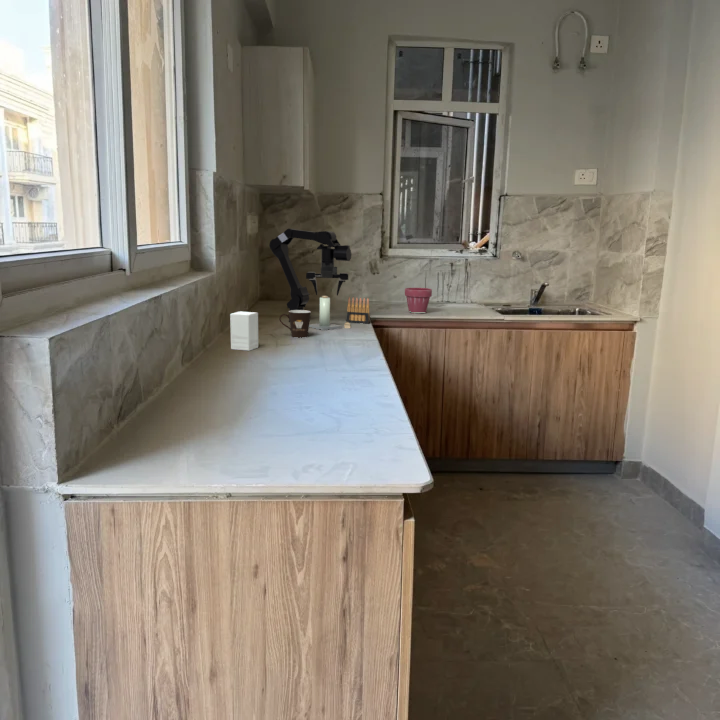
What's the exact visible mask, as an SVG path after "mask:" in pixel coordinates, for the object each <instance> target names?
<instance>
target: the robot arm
mask: <svg viewBox="0 0 720 720" xmlns="http://www.w3.org/2000/svg"><path fill="white" fill-rule="evenodd" d="M293 239H299V240H300V239H301V240H308V241H314V242H317V243H320V244H319V245H318V246H317V247H316V250H320V252H321V253H320V254H321V256H320V259H321V262H320V273H316V271H308V272H306V273H305V279H306V280H308V281H309V282H311V283H312V286H313V288H314V292H315V295H316V296H318V284H317V279H338V284H337V290H336V296H339V293H340V291H341V288H342V287H341V286H342V285H343V283H345V282H346V281H349V273H348V272H339V273H338V266H335V260H336V261H339V262H340V261H341V262H342V261H343V262H350V261H351V259H352V251H351V248H350V246H351V245H349V244H347V245H341V243H340V241H339V240H338V239H337V235H336V233H335V232H334V231H327V230H326V231H325V230H324V231H323V230H322V231H321V230H320V231H310V230H302V229H295V228H286V230H284V232H282V233H281V234H279V235H278V236H276V237H275V238H272V239H271V240H270V242H269V245H268V247H269V249H270V251H271V253H272V254H273V255H274V256H275V258H277V259H278V261H279V264H280V266H281V268H282V271H283V273H284V275H285V277H286V280H287V282H288V285H289V288H290V289H289V290H290V292H289V293H290V298H291V299H290V300H289V301H288V302H287V303H286V306H287V309H289V310H288V312H289V311H291V310H305V309H304V308H306V307H307V303H309V301H310V293H309V291H308V288H307V286H302V284H301V283H300V281H299V278H298V275H297V273H296V271H295V268H294V266H293V263H292V261H291V259H290V256H289V245H290V244H291V243H292V241H293ZM288 323H290V320H289V319H288Z"/></svg>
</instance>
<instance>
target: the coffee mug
mask: <svg viewBox="0 0 720 720" xmlns="http://www.w3.org/2000/svg"><path fill="white" fill-rule="evenodd" d="M311 313H312V312H311V311H310V310H305V309H304V310H291V311H289V310H288V314H287V313H282V314H281V315H279V317H278V318H279V322H280V324H282V325H283V326H284V327H286V328H287V329H289V331H290V333H291V334H290V335H291V338H294V337H298V338H297V339H303V338H302V337H306V338H308V337H307V336H308V335H309V330H310V328H309V324H310V321H311ZM284 316H285V317H287V318H288V321H289V320H290V322H289V325H290V326H288V325H287V324H285V323H284V322H283V321H282V317H284ZM300 337H301V338H300Z"/></svg>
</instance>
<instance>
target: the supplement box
mask: <svg viewBox="0 0 720 720" xmlns="http://www.w3.org/2000/svg"><path fill="white" fill-rule="evenodd" d="M229 318H230V323H229V325H230V350H236V351H237V350H239V351H253V350H255V349H258V348H259V312H253V311H252V312H251V311H241V310H240V311H235V312H232V313H230V314H229Z"/></svg>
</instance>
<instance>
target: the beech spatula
mask: <svg viewBox="0 0 720 720" xmlns="http://www.w3.org/2000/svg"><path fill="white" fill-rule="evenodd" d="M344 329H351V323H349V322H346V321H345V322H344Z"/></svg>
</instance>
